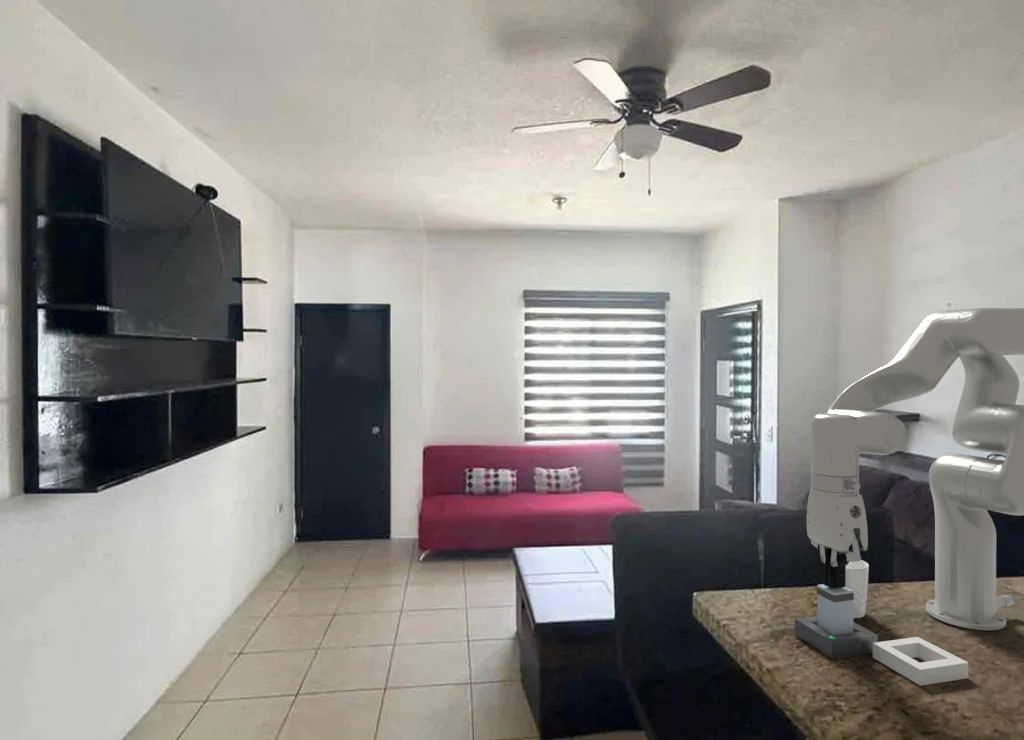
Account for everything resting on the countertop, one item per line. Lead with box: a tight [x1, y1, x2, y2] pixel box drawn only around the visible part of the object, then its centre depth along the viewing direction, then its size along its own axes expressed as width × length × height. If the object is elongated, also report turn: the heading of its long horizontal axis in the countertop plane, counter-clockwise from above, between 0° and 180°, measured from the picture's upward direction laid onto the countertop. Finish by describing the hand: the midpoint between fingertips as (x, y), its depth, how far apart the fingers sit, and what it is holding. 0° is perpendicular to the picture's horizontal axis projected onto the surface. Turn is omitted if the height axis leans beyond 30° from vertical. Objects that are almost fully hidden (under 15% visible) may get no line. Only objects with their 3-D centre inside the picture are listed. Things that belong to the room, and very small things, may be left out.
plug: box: [816, 583, 854, 635], centre depth 108 cm, size 4×4×10 cm
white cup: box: [845, 559, 870, 619], centre depth 122 cm, size 8×8×10 cm
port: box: [794, 615, 879, 660], centre depth 109 cm, size 9×9×3 cm
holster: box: [872, 636, 969, 686], centre depth 100 cm, size 9×9×2 cm
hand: (834, 586), depth 108 cm, fingers closed
